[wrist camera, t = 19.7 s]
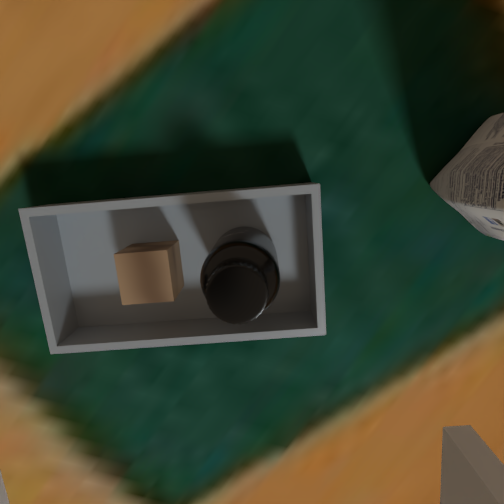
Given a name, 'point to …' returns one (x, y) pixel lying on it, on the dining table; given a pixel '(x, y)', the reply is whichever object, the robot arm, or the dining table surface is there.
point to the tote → (192, 257)
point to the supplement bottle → (240, 275)
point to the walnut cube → (149, 272)
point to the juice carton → (477, 179)
